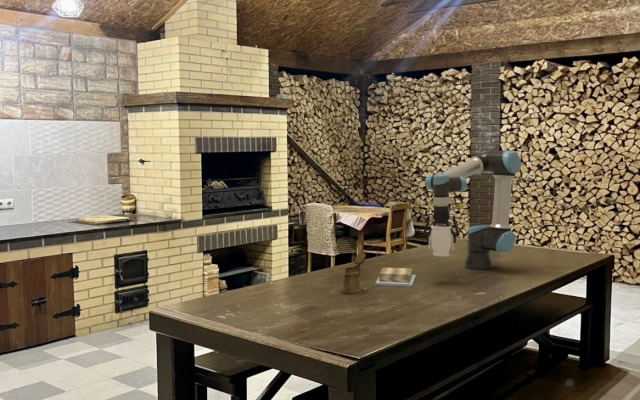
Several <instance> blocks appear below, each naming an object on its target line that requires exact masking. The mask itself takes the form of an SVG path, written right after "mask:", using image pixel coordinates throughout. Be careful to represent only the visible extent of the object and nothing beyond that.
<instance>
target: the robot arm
mask: <svg viewBox="0 0 640 400" xmlns="http://www.w3.org/2000/svg"><path fill="white" fill-rule="evenodd" d="M521 161H522V160H521V158H520V156H519V154H518V153H517V152H516V151H514V150H513V151H512V150H487V151H483V152H481V153H479V154H476V155H475V156H472V157H470V159H469V161H468V160H467V161H466V162H464V163H461V164H459V165H456V166H454V167H452V168H450V169H448V170H445V171H443V172H441V173H436V174H435V175H434V174H432V175H428V176H427V177H426V178H425V181H424V184H425V187H426V188H427V189H428V190H430V191H433V205H434V206H433V215H427V217H426V223H425V226H424V229H423V232H422V235H423V236H426V243H427V244H428V250H432V246H431V239H430V235H431V230H432V228H431V227H430V229H429V230H428V227H429V225H430V221H432V220H434V222H433V224H432V226H435V225H436V224H446V225H447V226H450V225H451V224H450V222H449V220H451V221H452V224H453V227H454V229H455V230H453V227H452V228H451V229H450V230H451V233H452V243H451V250H452V251H454V249H455V248H454V247H455V246H454V244H456V243H457V237H458V236H460V231H459V228H458V224H457V222H456V216H455V215H450V193H460V192H464V191H465V190H466V189H467V187H468V182H467V181H468V180H467V179H466V178H468V177H470V176H473V175H475V174H477V175H478V174H481V173H485V172H486V173H490V172H491V173H492V177H494V179H495V181H494V191H493V192H494V194H493V195H494V196H493V205H492V206H493V207H492V219H491V220H492V221H491V224H490V225H489V224H487V225H485V224H484V225H473V226H470V227H469V228H468V232H467V254H466V257H465V261H464V267H465V268H467V269H470V270H491V269H492V268H493V261H492V257H491V255H490V253H491V252H492V251H493V252H497V253H509V252H510V251H511V250H512V249H513V248H514V246H515V243H516V236H515V233H514V232H512V227H511V225H509V224H510V214H511V213H510V210H511V208H510V207H511V196H512V182H513V179H515V177H516V174H518V173H519V171H520V169H521V167H522V166H521V165H522V162H521ZM427 230H428V232H427ZM490 251H491V252H490ZM490 268H491V269H490Z"/></svg>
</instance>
